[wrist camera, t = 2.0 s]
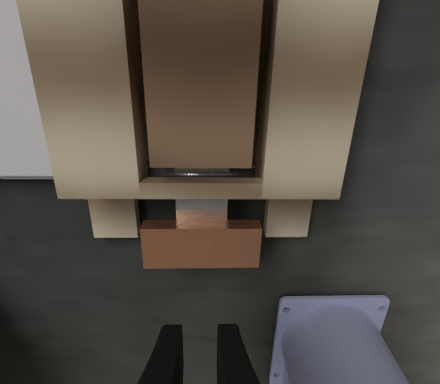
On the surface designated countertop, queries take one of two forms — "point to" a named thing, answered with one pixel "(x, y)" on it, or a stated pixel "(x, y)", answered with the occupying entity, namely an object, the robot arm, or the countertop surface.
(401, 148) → the countertop surface
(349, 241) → the countertop surface
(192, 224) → the lever
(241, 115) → the walnut block
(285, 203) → the pocket board
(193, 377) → the countertop surface
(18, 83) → the grey pad
